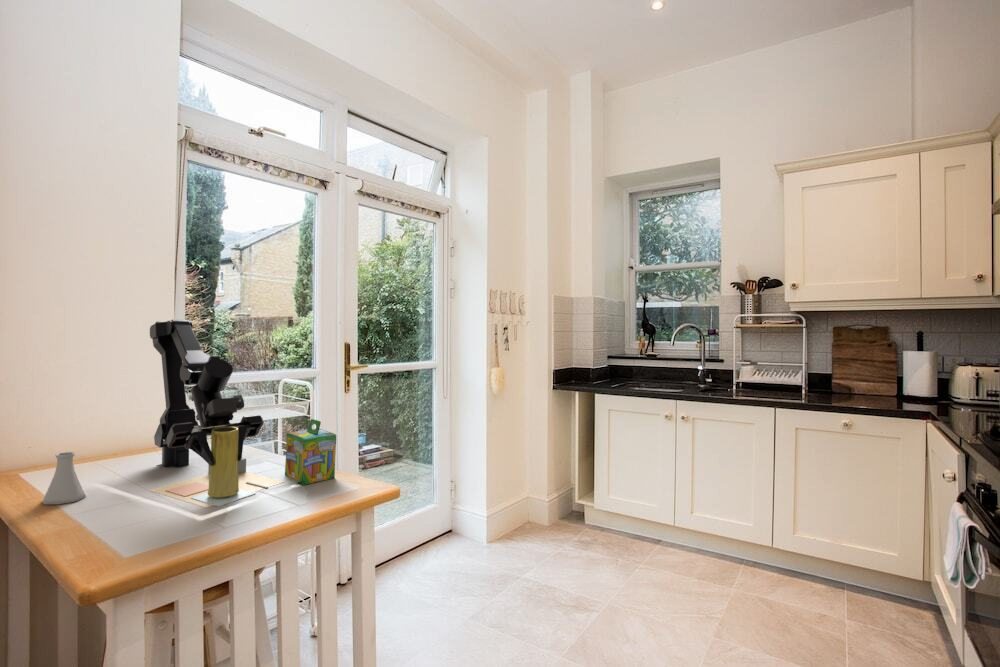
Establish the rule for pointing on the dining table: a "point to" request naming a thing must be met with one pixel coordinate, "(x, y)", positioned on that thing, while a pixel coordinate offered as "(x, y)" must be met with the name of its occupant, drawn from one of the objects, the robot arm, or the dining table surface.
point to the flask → (64, 482)
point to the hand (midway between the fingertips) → (226, 462)
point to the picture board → (198, 487)
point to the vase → (224, 462)
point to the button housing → (240, 466)
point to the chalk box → (310, 454)
